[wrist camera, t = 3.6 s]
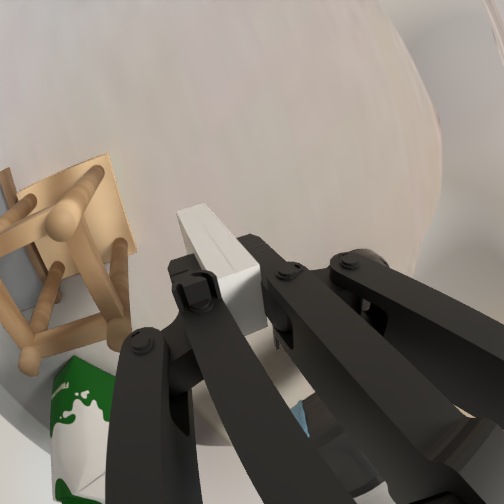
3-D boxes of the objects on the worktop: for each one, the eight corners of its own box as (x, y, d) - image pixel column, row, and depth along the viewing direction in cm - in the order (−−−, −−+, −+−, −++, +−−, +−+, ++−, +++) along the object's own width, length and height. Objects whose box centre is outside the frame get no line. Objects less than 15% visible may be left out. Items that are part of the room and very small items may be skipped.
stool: (108, 152, 19) (75, 186, 8) (136, 244, 24) (149, 351, 13) (23, 188, 17) (-59, 259, 6) (57, 272, 22) (27, 384, 10)
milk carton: (71, 347, 25) (77, 511, 9) (128, 377, 31) (163, 519, 14) (46, 379, 25) (49, 516, 9) (98, 404, 31) (121, 527, 14)
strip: (9, 167, 15) (4, 169, 14) (62, 295, 23) (60, 302, 22) (3, 170, 15) (-3, 173, 14) (56, 297, 22) (54, 304, 21)
